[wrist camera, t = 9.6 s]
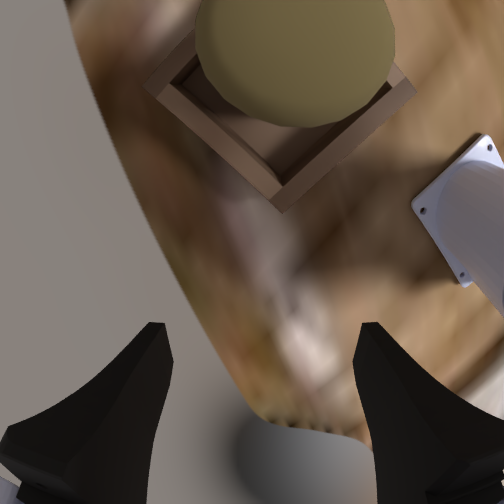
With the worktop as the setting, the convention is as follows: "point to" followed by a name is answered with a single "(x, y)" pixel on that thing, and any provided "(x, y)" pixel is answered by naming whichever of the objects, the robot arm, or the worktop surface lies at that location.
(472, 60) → the worktop surface
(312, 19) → the cork
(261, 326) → the worktop surface
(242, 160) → the holder
